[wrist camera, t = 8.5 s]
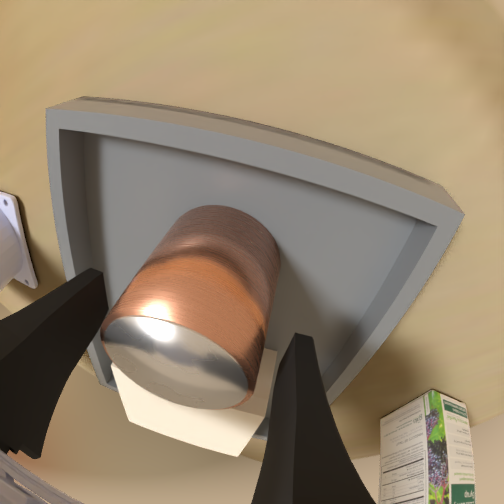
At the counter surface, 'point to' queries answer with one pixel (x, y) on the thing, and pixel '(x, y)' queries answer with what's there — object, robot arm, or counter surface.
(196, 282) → the tin can
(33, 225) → the counter surface
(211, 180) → the tray
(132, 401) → the plain cream box
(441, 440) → the syrup box
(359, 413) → the counter surface
